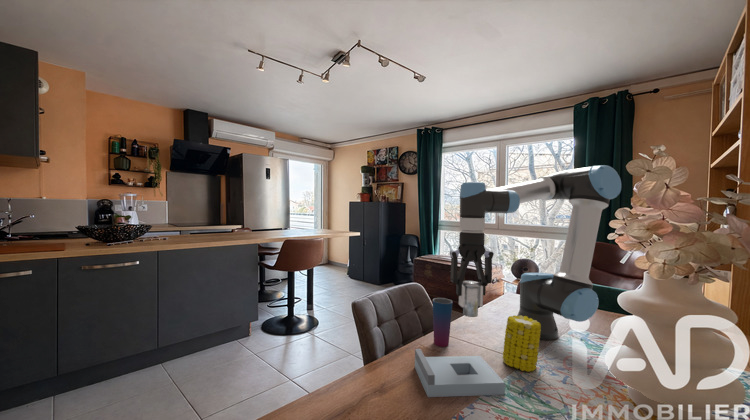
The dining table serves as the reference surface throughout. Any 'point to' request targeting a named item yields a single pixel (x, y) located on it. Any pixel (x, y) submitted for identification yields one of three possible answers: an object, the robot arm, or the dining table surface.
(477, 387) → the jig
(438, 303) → the cup
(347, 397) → the dining table surface
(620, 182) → the robot arm
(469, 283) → the silver metal cylinder
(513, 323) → the food
